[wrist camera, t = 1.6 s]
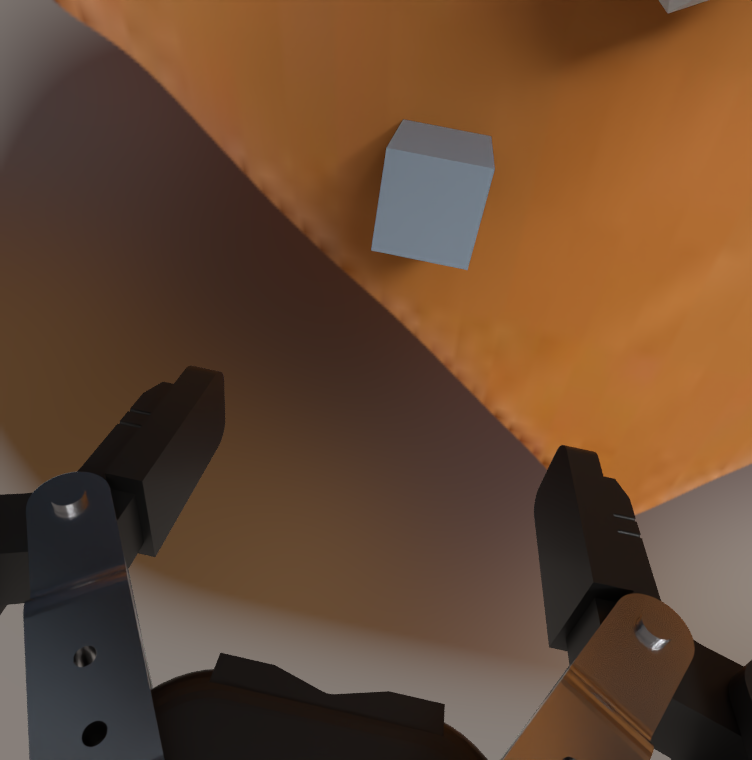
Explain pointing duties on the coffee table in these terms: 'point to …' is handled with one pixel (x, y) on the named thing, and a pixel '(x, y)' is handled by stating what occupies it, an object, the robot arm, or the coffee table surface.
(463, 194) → the block
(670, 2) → the die
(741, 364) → the coffee table surface
